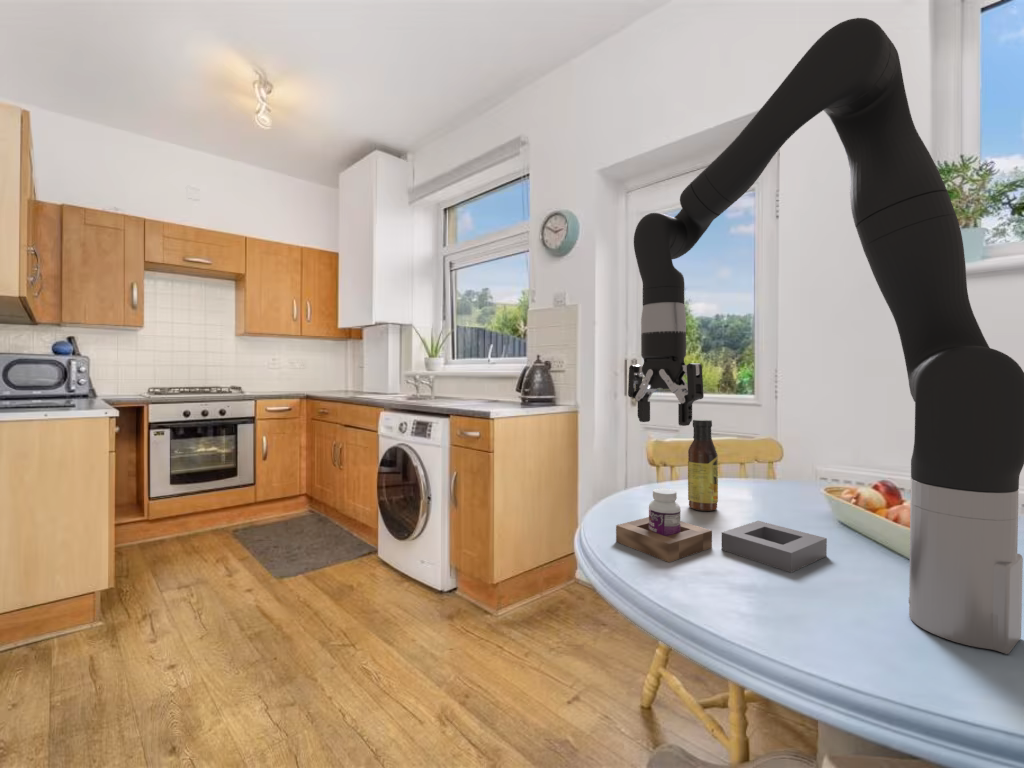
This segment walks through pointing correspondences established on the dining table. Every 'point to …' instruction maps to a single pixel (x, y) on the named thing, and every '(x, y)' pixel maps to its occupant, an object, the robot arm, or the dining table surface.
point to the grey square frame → (774, 545)
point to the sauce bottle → (702, 468)
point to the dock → (664, 540)
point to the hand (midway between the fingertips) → (663, 423)
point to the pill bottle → (664, 512)
